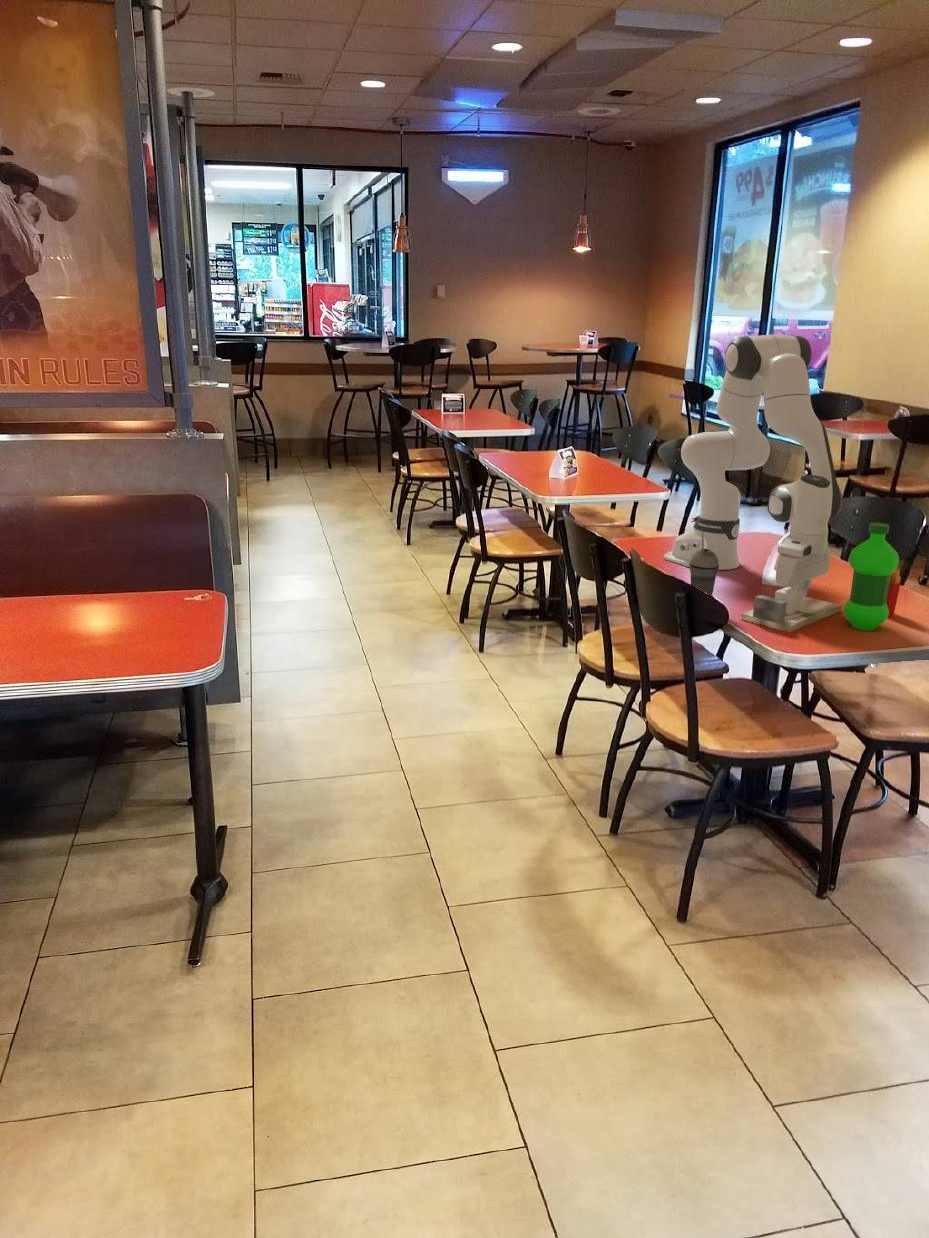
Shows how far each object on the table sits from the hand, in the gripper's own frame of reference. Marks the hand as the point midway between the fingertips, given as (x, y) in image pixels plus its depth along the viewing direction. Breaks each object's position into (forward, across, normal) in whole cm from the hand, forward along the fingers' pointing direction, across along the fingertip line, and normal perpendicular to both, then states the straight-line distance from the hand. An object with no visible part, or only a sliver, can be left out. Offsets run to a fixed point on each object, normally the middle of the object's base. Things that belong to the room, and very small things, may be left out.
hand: (800, 596), depth 229 cm
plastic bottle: (+4, -2, +16) cm, 17 cm away
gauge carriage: (+2, +7, +2) cm, 8 cm away
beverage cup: (+4, +17, -18) cm, 25 cm away
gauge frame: (+4, +4, 0) cm, 5 cm away
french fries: (+4, -16, +14) cm, 21 cm away
